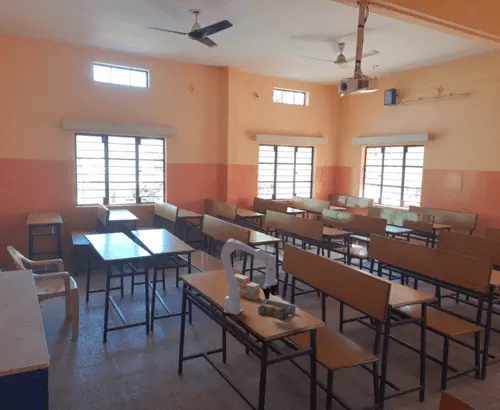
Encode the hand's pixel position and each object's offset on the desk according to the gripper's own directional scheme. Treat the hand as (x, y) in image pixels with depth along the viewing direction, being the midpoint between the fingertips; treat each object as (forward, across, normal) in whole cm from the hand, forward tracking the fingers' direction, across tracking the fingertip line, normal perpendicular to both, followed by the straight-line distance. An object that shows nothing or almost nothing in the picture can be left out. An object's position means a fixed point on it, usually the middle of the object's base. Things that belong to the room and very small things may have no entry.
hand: (270, 297), depth 230 cm
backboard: (+10, +5, -3) cm, 11 cm away
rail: (+10, -1, -3) cm, 11 cm away
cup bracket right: (+10, -1, -10) cm, 14 cm away
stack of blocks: (+10, +17, +28) cm, 35 cm away
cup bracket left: (+10, -1, +3) cm, 10 cm away
